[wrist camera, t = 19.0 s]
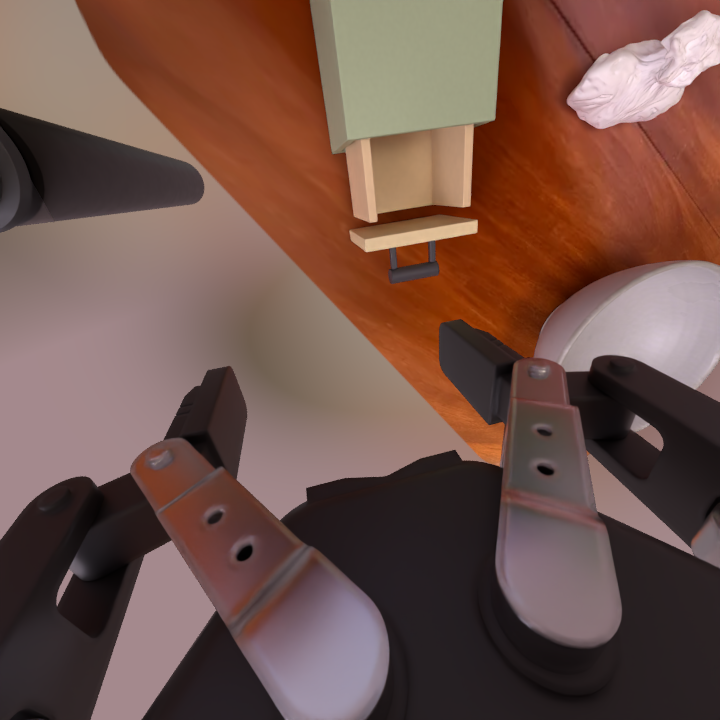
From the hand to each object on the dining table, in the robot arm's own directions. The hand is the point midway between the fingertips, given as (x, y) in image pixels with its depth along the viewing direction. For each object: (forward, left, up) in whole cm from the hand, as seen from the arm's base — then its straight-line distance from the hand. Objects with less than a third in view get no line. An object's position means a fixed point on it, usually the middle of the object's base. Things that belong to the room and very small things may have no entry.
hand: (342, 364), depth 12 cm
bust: (+37, +11, -30) cm, 49 cm away
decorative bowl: (+40, -20, -30) cm, 54 cm away
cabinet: (+11, +16, -30) cm, 36 cm away
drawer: (+11, +5, -29) cm, 31 cm away
